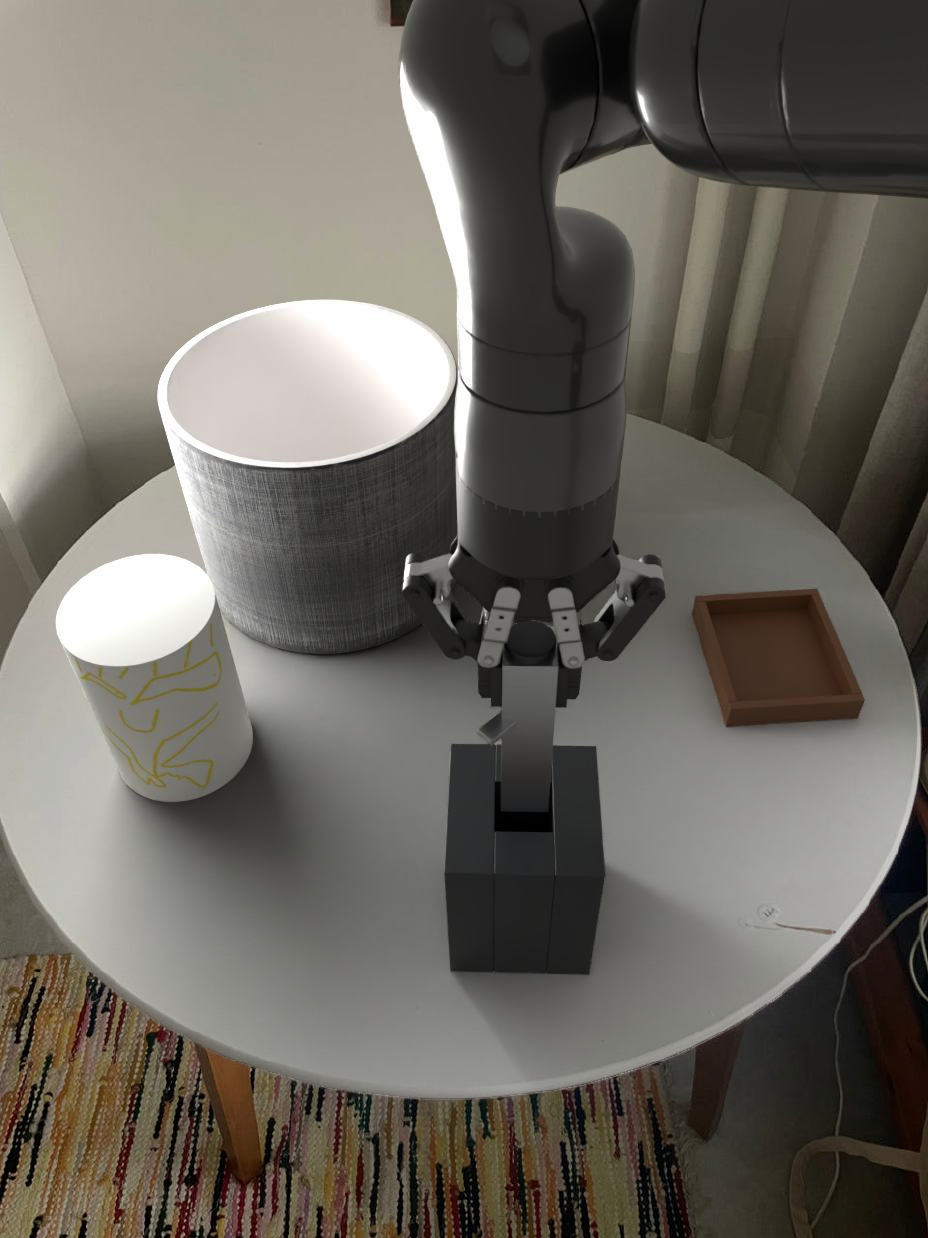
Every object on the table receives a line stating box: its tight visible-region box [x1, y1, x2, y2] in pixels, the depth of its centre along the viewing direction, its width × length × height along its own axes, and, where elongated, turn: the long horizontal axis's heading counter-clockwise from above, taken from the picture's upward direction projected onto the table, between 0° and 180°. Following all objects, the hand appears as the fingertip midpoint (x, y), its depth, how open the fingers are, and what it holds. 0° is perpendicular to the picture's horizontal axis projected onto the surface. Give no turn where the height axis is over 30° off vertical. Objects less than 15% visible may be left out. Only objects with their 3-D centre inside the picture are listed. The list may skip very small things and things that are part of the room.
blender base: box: [443, 743, 606, 976], centre depth 72 cm, size 10×10×14 cm
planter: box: [157, 299, 458, 655], centre depth 96 cm, size 25×25×22 cm
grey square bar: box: [476, 620, 559, 812], centre depth 61 cm, size 6×6×15 cm
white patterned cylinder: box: [55, 553, 254, 803], centre depth 82 cm, size 12×12×17 cm
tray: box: [691, 588, 866, 728], centre depth 93 cm, size 14×12×2 cm
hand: (528, 694), depth 59 cm, fingers closed on grey square bar, 3 cm apart
